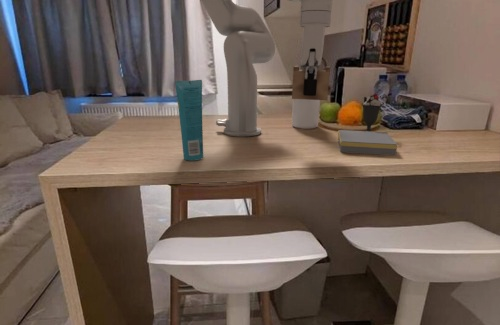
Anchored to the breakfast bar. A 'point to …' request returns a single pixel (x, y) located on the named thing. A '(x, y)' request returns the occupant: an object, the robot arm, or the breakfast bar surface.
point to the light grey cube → (308, 65)
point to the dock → (366, 142)
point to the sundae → (371, 110)
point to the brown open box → (321, 84)
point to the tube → (190, 118)
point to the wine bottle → (305, 113)
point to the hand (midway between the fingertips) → (310, 93)
